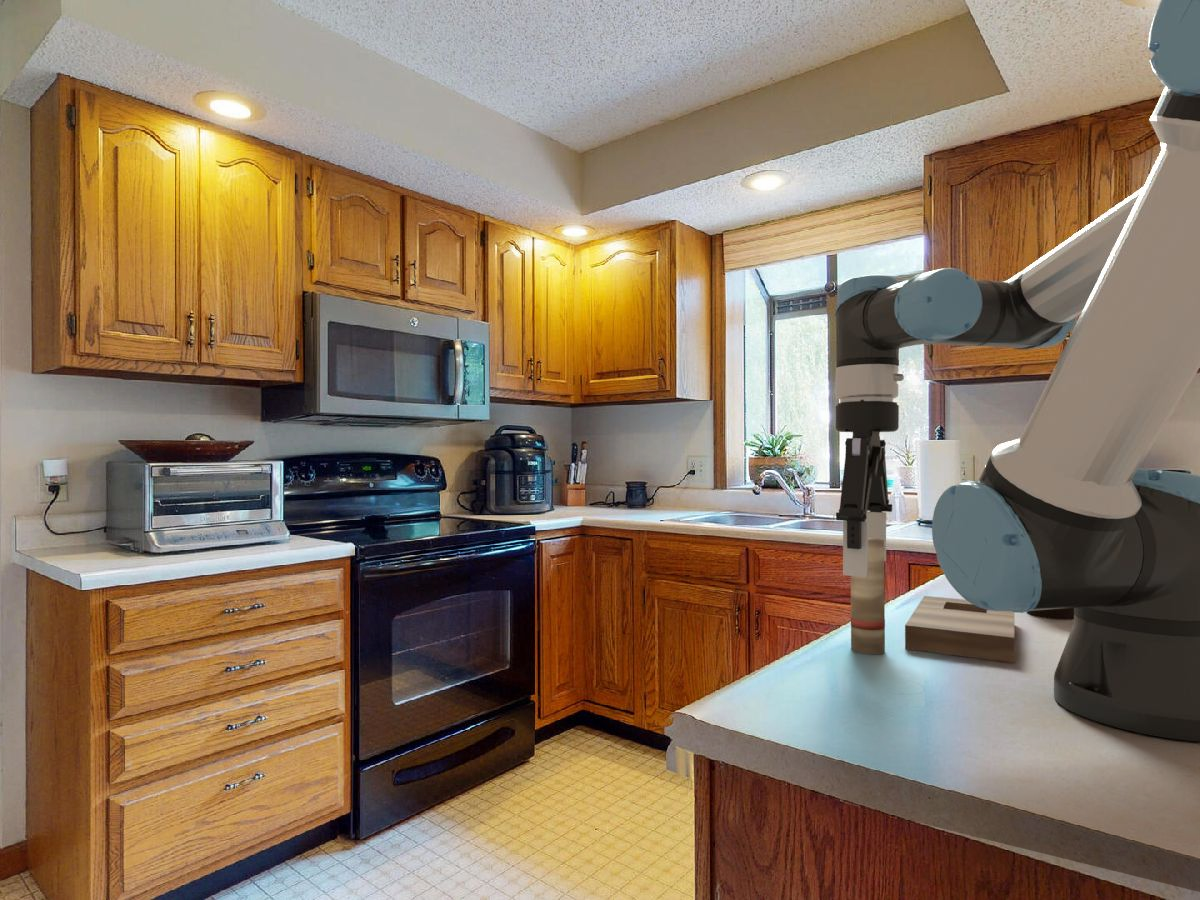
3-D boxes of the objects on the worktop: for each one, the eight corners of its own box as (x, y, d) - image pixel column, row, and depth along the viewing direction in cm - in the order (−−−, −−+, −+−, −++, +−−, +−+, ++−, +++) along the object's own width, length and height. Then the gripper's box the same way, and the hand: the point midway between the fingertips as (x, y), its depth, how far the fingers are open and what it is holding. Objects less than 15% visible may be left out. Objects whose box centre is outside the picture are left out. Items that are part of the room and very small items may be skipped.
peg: (882, 656, 86) (881, 542, 86) (848, 651, 88) (847, 540, 88) (887, 648, 89) (886, 538, 89) (854, 643, 91) (853, 537, 91)
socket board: (1014, 663, 83) (1014, 637, 83) (905, 648, 89) (905, 625, 89) (1014, 624, 102) (1014, 604, 102) (924, 615, 108) (924, 595, 108)
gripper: (882, 393, 76) (880, 587, 76) (911, 405, 98) (910, 556, 98) (812, 395, 80) (811, 580, 80) (855, 406, 101) (854, 552, 102)
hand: (865, 567), depth 89 cm, fingers open, 13 cm apart
